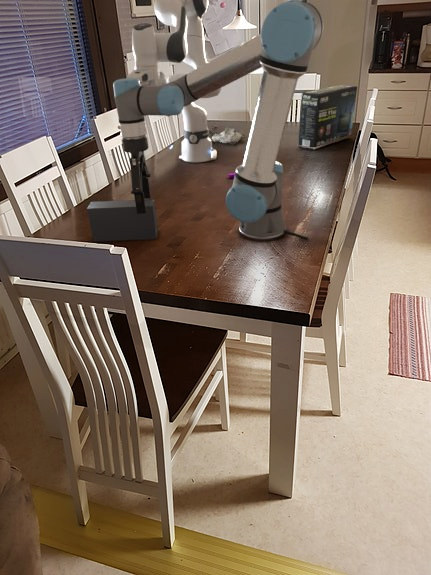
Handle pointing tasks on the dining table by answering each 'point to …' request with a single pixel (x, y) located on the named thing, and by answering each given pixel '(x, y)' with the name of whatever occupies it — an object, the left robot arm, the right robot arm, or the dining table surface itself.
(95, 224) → the box
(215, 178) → the dining table surface
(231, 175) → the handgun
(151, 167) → the dining table surface
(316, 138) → the router box
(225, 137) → the fossil
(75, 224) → the dining table surface
